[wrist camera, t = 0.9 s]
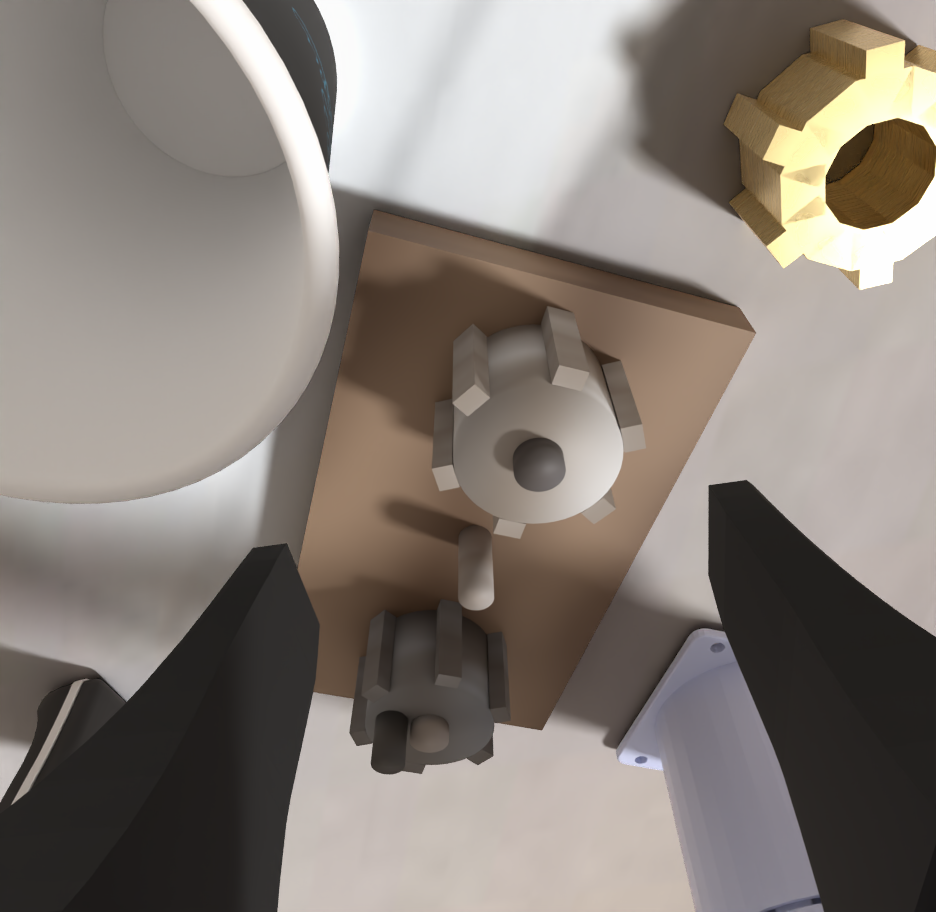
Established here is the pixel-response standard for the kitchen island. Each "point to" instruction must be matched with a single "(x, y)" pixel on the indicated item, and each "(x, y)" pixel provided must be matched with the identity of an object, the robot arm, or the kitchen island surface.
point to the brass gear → (817, 143)
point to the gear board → (396, 449)
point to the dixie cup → (158, 237)
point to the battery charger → (63, 731)
